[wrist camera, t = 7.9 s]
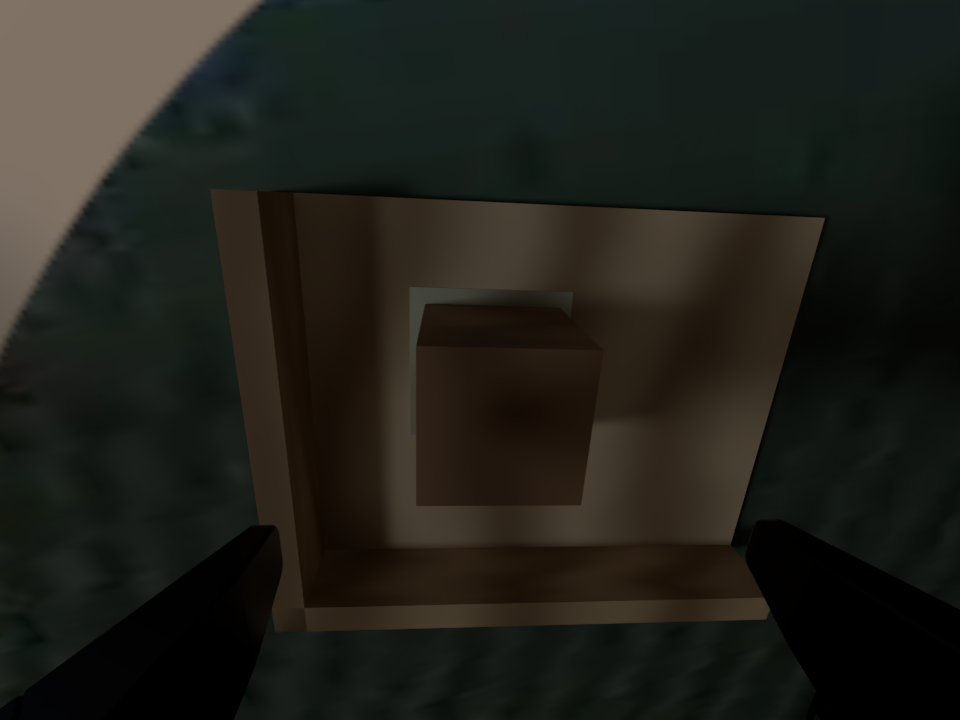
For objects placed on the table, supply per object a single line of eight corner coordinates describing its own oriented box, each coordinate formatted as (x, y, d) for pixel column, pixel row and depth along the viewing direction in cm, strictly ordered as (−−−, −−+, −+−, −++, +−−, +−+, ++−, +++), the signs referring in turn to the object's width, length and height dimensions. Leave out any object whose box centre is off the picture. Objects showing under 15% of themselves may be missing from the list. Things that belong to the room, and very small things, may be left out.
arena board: (804, 217, 17) (903, 221, 13) (713, 549, 23) (766, 619, 19) (267, 191, 16) (210, 189, 12) (306, 554, 21) (275, 632, 17)
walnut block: (560, 307, 17) (603, 350, 12) (547, 427, 18) (581, 505, 14) (425, 303, 16) (416, 346, 12) (424, 425, 18) (416, 506, 13)
